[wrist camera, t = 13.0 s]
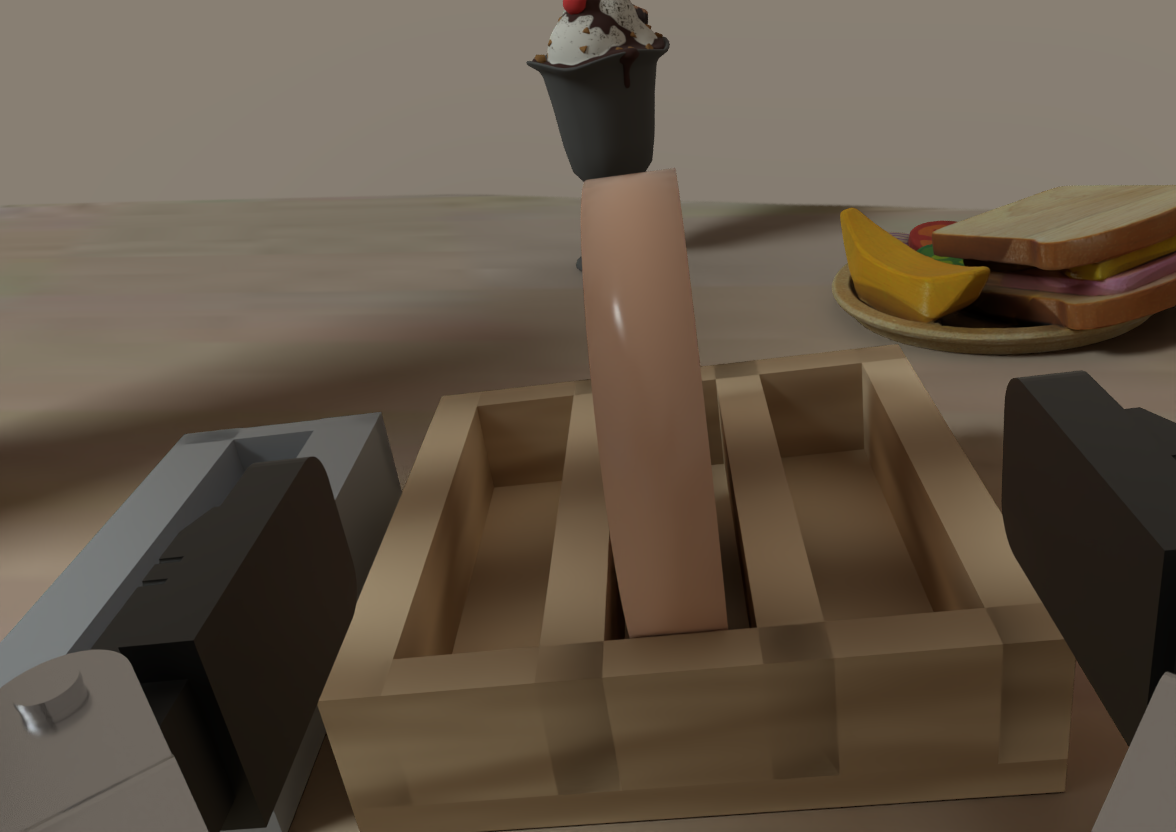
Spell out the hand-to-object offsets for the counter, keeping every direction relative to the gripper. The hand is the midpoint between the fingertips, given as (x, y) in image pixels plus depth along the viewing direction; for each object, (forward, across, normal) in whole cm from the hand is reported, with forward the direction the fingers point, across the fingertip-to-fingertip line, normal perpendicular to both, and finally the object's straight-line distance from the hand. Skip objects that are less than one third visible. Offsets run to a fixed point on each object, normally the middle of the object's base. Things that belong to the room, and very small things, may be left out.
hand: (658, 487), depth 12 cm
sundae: (+39, +2, +9) cm, 40 cm away
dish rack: (+10, 0, +9) cm, 14 cm away
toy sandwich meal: (+28, -13, +10) cm, 32 cm away
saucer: (+9, 0, +3) cm, 10 cm away
